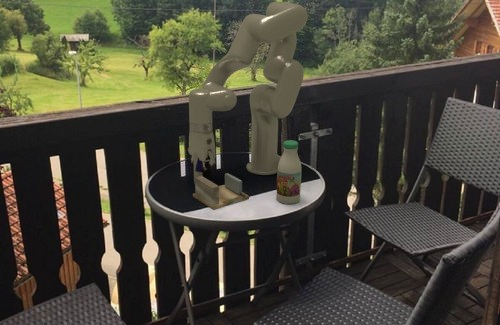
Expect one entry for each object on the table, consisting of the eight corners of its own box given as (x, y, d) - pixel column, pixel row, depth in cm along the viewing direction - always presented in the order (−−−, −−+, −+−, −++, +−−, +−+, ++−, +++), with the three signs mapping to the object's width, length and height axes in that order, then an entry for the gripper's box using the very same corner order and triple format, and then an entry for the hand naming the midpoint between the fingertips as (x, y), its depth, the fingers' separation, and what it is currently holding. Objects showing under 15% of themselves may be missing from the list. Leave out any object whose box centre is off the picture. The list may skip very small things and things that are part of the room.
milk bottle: (277, 193, 183) (280, 137, 176) (300, 195, 182) (304, 139, 174) (274, 203, 176) (277, 145, 169) (298, 205, 175) (302, 147, 167)
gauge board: (227, 186, 188) (227, 167, 185) (248, 198, 179) (249, 179, 176) (193, 196, 180) (192, 176, 177) (213, 209, 171) (213, 189, 168)
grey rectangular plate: (227, 185, 185) (227, 173, 183) (246, 196, 177) (246, 183, 176) (224, 186, 184) (224, 173, 183) (243, 197, 177) (243, 184, 175)
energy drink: (207, 187, 186) (206, 154, 182) (192, 186, 187) (191, 153, 183) (211, 181, 191) (210, 149, 187) (196, 179, 192) (195, 147, 188)
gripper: (225, 131, 177) (224, 182, 184) (196, 118, 190) (197, 166, 197) (205, 135, 173) (206, 187, 180) (177, 121, 186) (179, 170, 192)
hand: (201, 175), depth 188 cm, fingers open, 5 cm apart
